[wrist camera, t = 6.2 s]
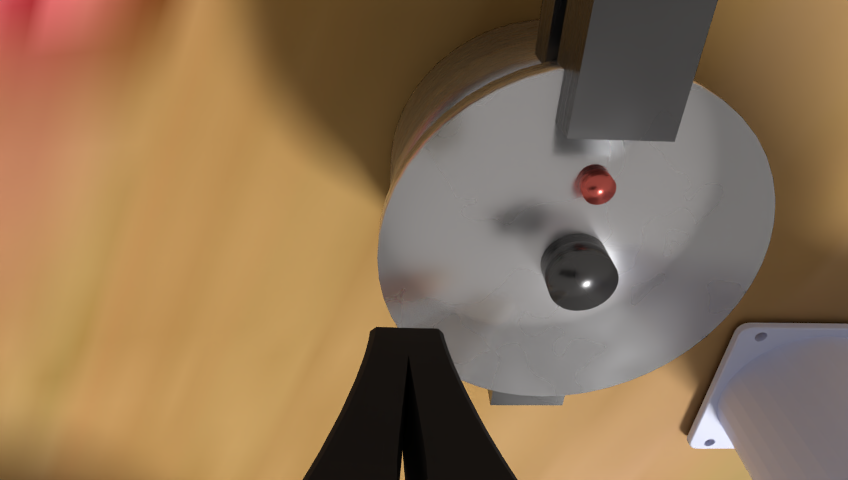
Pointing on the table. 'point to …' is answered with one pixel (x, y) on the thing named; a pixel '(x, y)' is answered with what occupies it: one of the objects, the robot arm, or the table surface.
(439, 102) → the pot
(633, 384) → the table surface
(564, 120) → the lid
